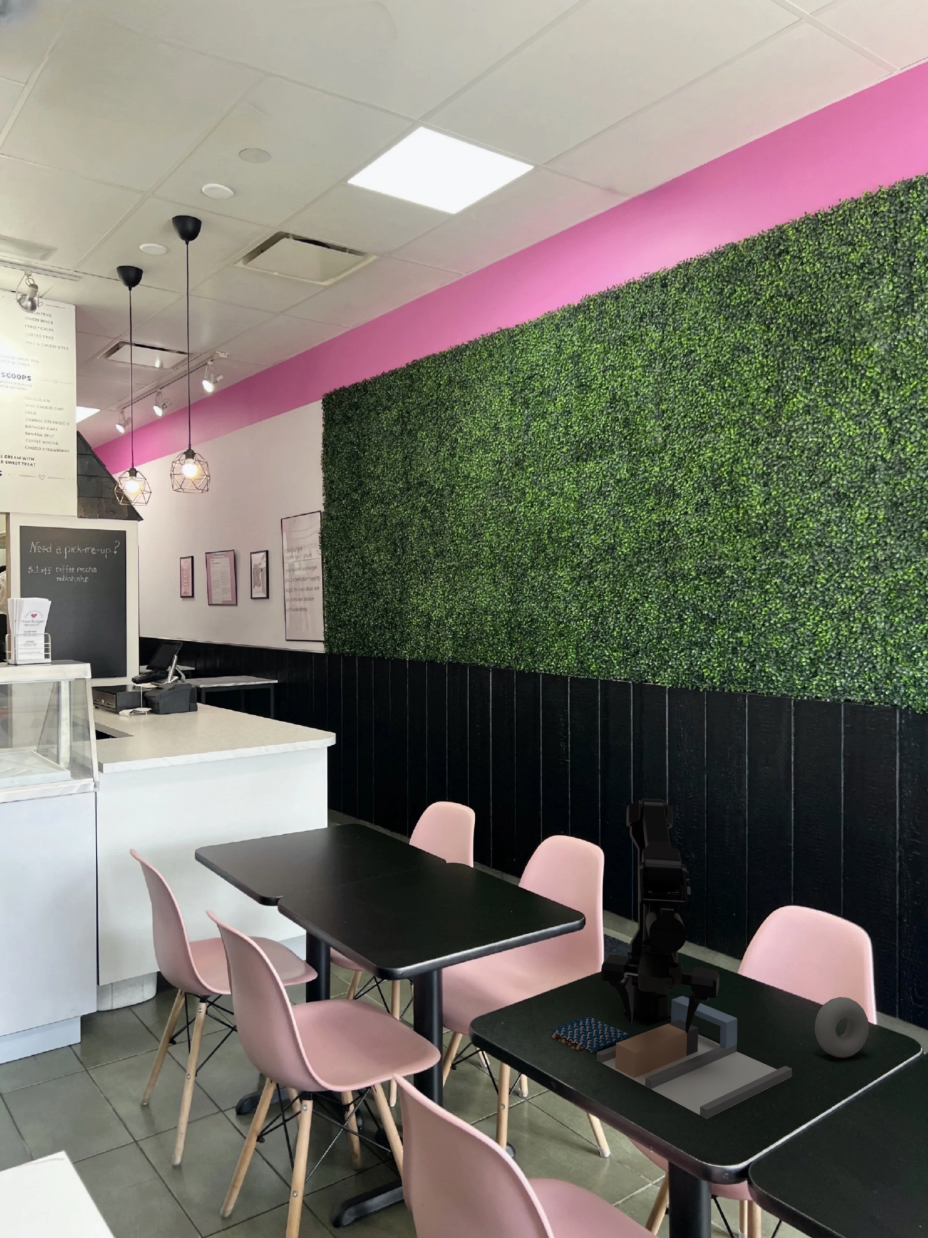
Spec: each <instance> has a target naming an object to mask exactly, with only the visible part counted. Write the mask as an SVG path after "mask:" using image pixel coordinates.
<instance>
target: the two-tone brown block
mask: <svg viewBox="0 0 928 1238" xmlns="http://www.w3.org/2000/svg"><path fill="white" fill-rule="evenodd" d="M685 1024H686V1022H684V1021H682V1020H676V1021H674V1022H669V1023H666V1024H664V1025H661V1026H659V1027H655V1028H653V1029H650V1030H647V1031H645V1032H642V1033H639V1034H637V1035H634V1036H631V1037H628V1038H626V1039H622V1040H621V1042H620V1041H617V1042H616V1043H615V1046H616V1067H615V1068H616V1069H618V1070H620V1071H622V1072H624V1073H626V1074H628V1075H629V1076H631V1077H633V1078H636V1077H638V1076H640V1075H643V1074H645V1073H648V1072H650V1071H652V1070H655V1069H657V1068H660V1067H662V1066H664V1065H667V1064H669V1063H671V1062H674V1061H676V1060H679V1059H681V1058H683V1057H686V1056H688V1055H691V1054H693V1053H695V1052H698V1035H699V1027H697V1026H695V1025H693V1024H691V1026H690V1029H689V1032H688V1033H686V1032H685Z"/></svg>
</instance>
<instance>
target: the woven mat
mask: <svg viewBox="0 0 928 1238" xmlns="http://www.w3.org/2000/svg"><path fill="white" fill-rule="evenodd" d="M551 1030H552V1031H553V1032H552V1033H551V1038H552V1039H553V1040H557V1039H558V1040H557V1041H558V1042H559V1043H560V1042H561V1043H562V1044H563V1045H564V1044H565V1045H566V1044H567V1046H568V1047H570V1048H571V1049H572V1050H576V1051H577V1052H579V1051H580V1052H582V1051H585V1050H588V1051H589V1052H590V1053H595V1052H597V1051H598V1050H602V1049H604V1048H605V1047H609V1046H610V1045H614V1044H616V1043H618V1042H621V1041H623V1040H626V1039H628V1038H630V1034H628V1033H627V1032H625V1031H623V1030H621V1029H618V1028H615V1027H613V1026H611V1025H608V1024H605V1022H602V1021H599V1020H598V1019H595V1018H593V1017H591V1016H589V1017H587V1016H582V1019H579V1018H577V1019H576V1020H575V1021H573V1020H572V1021H570V1023H564V1026H562V1025H558V1028H554V1027H553V1028H551Z"/></svg>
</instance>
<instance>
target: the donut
mask: <svg viewBox="0 0 928 1238" xmlns="http://www.w3.org/2000/svg"><path fill="white" fill-rule="evenodd" d="M843 1019H846V1020H847V1027H846V1030H845V1031H844V1033H843V1034H841V1035H837V1026H838V1024H839V1023H840V1021H841V1020H843ZM869 1025H870V1024H869V1019H868V1016H867V1014H866V1011H865V1010H864V1008H863V1007H862V1006H861V1005H860V1004H859V1003H858V1002H857V1001H856V1000H854V999H851V998H850V997H844V996H838V997H834V998H831V999H829V1000H828V1001H827V1002H825V1003H824V1004H823V1005H822V1006H821V1008H820V1009H819V1010H818V1013H817V1015H816V1018H815V1023H814V1032H815V1037H816V1040H817V1042H818V1044H819V1047H820V1048H822V1049H823V1051H824V1052H826V1054H828V1055H831V1056H832V1057H835V1058H842V1059H843V1058H844V1059H846V1058H849V1057H853V1056H854V1055H855V1054H856V1053H858V1052H860V1051H861V1049H862V1047H864V1045H865V1043H866V1041H867V1039H868V1036H869V1027H870V1026H869Z"/></svg>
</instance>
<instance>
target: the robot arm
mask: <svg viewBox="0 0 928 1238" xmlns="http://www.w3.org/2000/svg"><path fill="white" fill-rule="evenodd" d="M673 819H674V818H673V806H672V805H670V804H668V801H667V800H663V799H662V798H661V799H659V798H656V799H655V798H642V799H639V800H638V801H637V802H633V803H628V805H627V808H626V827H629V837H630V838H631V840H632V842H633V843H634V845H635V847H636V848H637V914H638V915H637V916H638V917H637V930H636V932H635V934H634V935H633V936H632V938H631V940H630V942H629V951H626V954H625V956H624V955H621V954H620V955H618V954H612V953H609V955H607V956H606V957H605V959H604V960H603V962H602V963H601V968H600V980H602V981H603V982H608V986H610V987H612V988H615V990H616V991H617V992H618V994H619V997H620V999H621V1001H622V1005H623V1008H624V1010H623V1014H624V1015H626V1017H627V1020H628V1023H629V1024H633V1020H637V1021H639V1022H641V1023H642V1024H645V1025H648V1026H652V1025H654V1024H657V1023H660V1022H662V1021H666V1020H667V1019H671V1013H669V1012H668V1009H669V1008H668V1001H669V997H668V993H669V991H670V989H671V990H672V989H673V988H675V987H681V986H683V985H685V986H690V993H689V997H688V998H689V1004H688V1011H687V1017H686V1024H685V1032H686V1033H688V1032H689V1029H690V1026H691V1025H692V1022H693V1019H694V1016H695V1015H694V1014H695V1012H696V1010H697V1008H698V1006H699V1004H700V1003H702V1002H708V1001H709V999H710V998H711V999H714V998H717V995H718V992H719V988H720V974H719V972H718V970H716V969H712V968H706V967H699V966H694V969H693V972H692V973H691V972H686V971H683V969H684V968H683V964H682V962H678V959H679V958H678V957H679V956H678V955H679V953H678V952H679V950H681V949H682V948H683V946H684V945H685V943H686V941H687V932H686V931H687V930H686V928H685V925H684V923H683V920H682V917H681V916H680V913H679V910H680V909H679V908H680V907H679V906H681V907H684V906H685V907H686V906H687V907H688V906H689V900H691V897H692V894H691V893H692V889H691V881H690V872H689V871H688V870H687V866H686V864H683V863H682V859H681V854H680V851H678V850H677V849H675V848H674V847H673V846H672V845H671V839H670V833H669V829H672V827H673V824H674V823H673ZM680 892H681V893H680Z"/></svg>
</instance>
